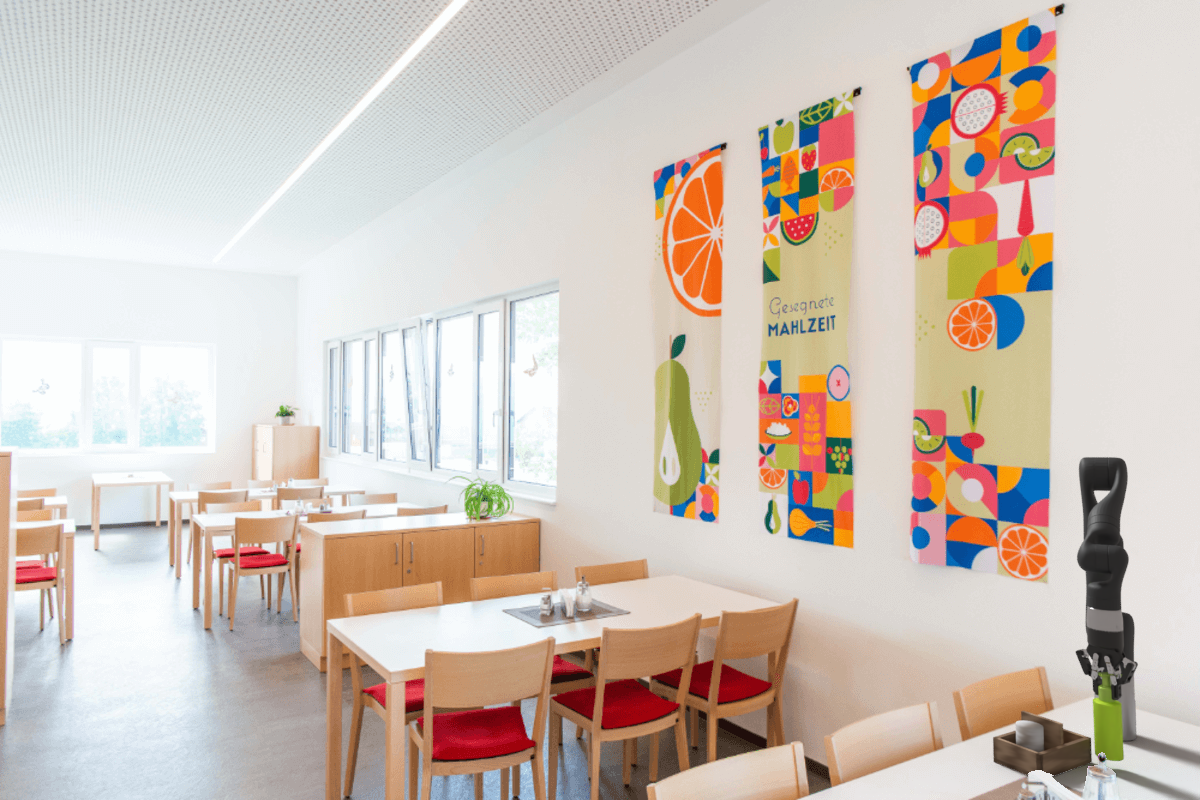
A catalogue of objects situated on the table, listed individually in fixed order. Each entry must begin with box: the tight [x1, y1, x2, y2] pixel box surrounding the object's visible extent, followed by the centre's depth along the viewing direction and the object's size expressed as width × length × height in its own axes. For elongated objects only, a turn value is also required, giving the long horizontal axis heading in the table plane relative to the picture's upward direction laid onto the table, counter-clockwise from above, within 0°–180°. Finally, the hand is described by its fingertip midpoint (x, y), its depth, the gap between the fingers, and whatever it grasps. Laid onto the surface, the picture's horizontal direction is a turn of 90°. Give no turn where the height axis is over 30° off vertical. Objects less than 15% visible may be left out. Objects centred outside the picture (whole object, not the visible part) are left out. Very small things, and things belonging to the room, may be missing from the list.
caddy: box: [992, 710, 1093, 777], centre depth 191 cm, size 12×21×11 cm, turn 119°
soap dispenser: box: [1092, 672, 1125, 762], centre depth 188 cm, size 6×7×20 cm
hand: (1107, 696), depth 188 cm, fingers closed on soap dispenser, 3 cm apart
